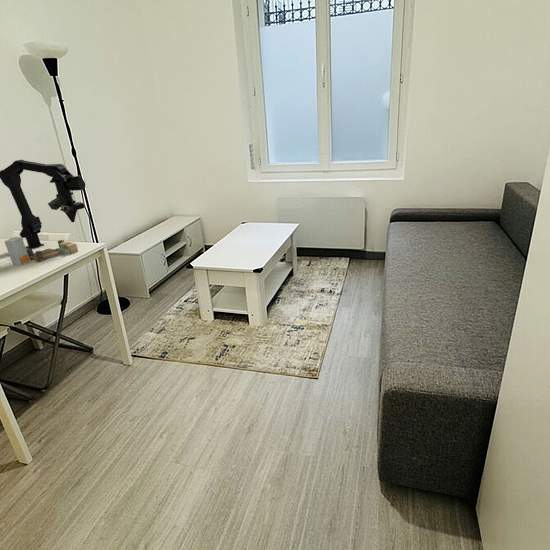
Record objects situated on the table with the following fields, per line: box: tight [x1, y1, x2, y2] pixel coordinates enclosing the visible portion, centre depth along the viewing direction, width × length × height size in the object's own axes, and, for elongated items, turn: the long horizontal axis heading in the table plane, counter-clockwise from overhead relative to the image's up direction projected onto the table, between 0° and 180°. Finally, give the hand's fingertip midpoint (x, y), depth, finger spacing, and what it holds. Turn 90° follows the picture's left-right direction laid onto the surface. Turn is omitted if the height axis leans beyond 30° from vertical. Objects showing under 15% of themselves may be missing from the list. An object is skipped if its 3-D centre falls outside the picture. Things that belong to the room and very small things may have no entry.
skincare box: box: [4, 236, 31, 267], centre depth 176 cm, size 6×4×12 cm
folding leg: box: [57, 239, 79, 255], centre depth 189 cm, size 12×4×5 cm, turn 56°
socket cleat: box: [57, 247, 72, 256], centre depth 187 cm, size 7×2×2 cm, turn 59°
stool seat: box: [26, 247, 63, 263], centre depth 185 cm, size 11×13×4 cm
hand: (72, 222), depth 194 cm, fingers closed
